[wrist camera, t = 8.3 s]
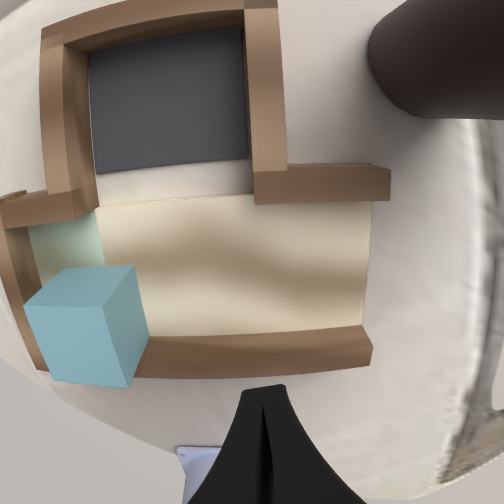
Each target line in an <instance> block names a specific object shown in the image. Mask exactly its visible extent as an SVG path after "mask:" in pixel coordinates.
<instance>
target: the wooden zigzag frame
mask: <svg viewBox="0 0 504 504" xmlns="http://www.w3.org/2000/svg"><path fill="white" fill-rule="evenodd" d="M229 28H241V29H244V31H245V48H246V65H247V83H248V101H249V119H250V138H251V156H252V175H253V193H251V194H234V195H218V196H204V197H191V198H179V199H167V200H157V201H146V202H136V203H127V204H117V205H109V206H100V207H99V202H98V195H97V188H96V181H95V172H94V164H93V154H92V143H91V131H90V116H89V94H88V54H90V53H92V52H95V51H99V50H102V49H106V48H110V47H114V46H118V45H123V44H127V43H131V42H136V41H141V40H146V39H151V38H157V37H162V36H168V35H175V34H182V33H189V32H197V31H206V30H216V29H229ZM39 93H40V122H41V137H42V148H43V158H44V167H45V175H46V183H47V190H43V191H38V192H33V193H28V194H27V193H26V190H23V191H19V192H14V193H10V194H7V195H5V196H2V197H0V277H1V280H2V283H3V286H4V289H5V292H6V295H7V298H8V301H9V304H10V307H11V310H12V312H13V315H14V318H15V320H16V323H17V326H18V328H19V331H20V333H21V335H22V338H23V340H24V343H25V345H26V347H27V349H28V352H29V354H30V356H31V358H32V361H33V363H34V365H35V367H36V369H37V370H42V371H48V372H50V371H49V369H48V367H47V364H46V362H45V360H44V358H43V355H42V353H41V351H40V349H39V346H38V344H37V341H36V339H35V336H34V334H33V331H32V329H31V326H30V324H29V321H28V318H27V316H26V313H25V310H24V307H23V305H24V304H25V303H26V302H27V301H28V300H29V299H30V298H32V297H33V296H34V295H35V294H36V293H37V292H38V291H39V290H40V289H41V288H42V287H44V286H45V285H46V284H47V283H48V282H49V281H50V280H51V279H53V278H54V277H55V276H56V275H57V274H58V273H59V272H61V271H62V270H63V269H64V268H74V267H96V266H117V265H134V266H135V271H136V277H137V281H138V286H139V291H140V296H141V300H142V305H143V309H144V314H145V318H146V322H147V326H148V330H149V334H150V337H149V340H148V342H147V344H146V347H145V349H144V352H143V354H142V356H141V359H140V361H139V364H138V366H137V369H136V371H135V374H134V376H133V377H141V378H171V379H218V378H248V377H267V376H281V375H294V374H305V373H315V372H324V371H333V370H341V369H349V368H356V367H363V366H370V361H371V356H372V350H373V345H372V343H371V341H370V339H369V338H368V336H367V334H366V332H365V330H364V328H363V327H362V325H361V324H362V316H363V308H364V300H365V291H366V281H367V271H368V259H369V246H370V231H371V211H372V201H390V182H391V170H389V169H385V168H382V167H379V166H375V165H371V164H344V163H334V164H287V148H286V126H285V105H284V87H283V71H282V56H281V42H280V28H279V16H278V4H277V0H126V1H122V2H118V3H115V4H111V5H107V6H104V7H101V8H97V9H94V10H91V11H88V12H85V13H82V14H79V15H76V16H73V17H70V18H67V19H65V20H62V21H59V22H57V23H54V24H52V25H49V26H47V27H44V28H42V32H41V46H40V73H39Z"/></svg>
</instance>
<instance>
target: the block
mask: <svg viewBox="0 0 504 504" xmlns="http://www.w3.org/2000/svg"><path fill="white" fill-rule="evenodd" d="M23 307H24V310H25V313H26V316H27V318H28V321H29V324H30V326H31V329H32V331H33V334H34V336H35V339H36V341H37V344H38V346H39V349H40V351H41V353H42V355H43V358H44V360H45V362H46V364H47V367H48V369H49V371H50V373H51V375H52V377H53V379H54V380H56V381H63V382H70V383H77V384H86V385H95V386H105V387H116V388H129V386H130V384H131V381H132V379H133V376H134V374H135V371H136V369H137V366H138V364H139V361H140V359H141V356H142V354H143V352H144V349H145V347H146V344H147V342H148V340H149V337H150V334H149V330H148V326H147V322H146V318H145V314H144V309H143V305H142V300H141V296H140V291H139V286H138V281H137V277H136V271H135V266H134V265H117V266H96V267H74V268H64V269H63V270H62V271H61V272H59V273H58V274H57V275H56V276H55V277H54V278H53V279H51V280H50V281H49V282H48V283H47V284H46V285H45V286H44V287H42V288H41V289H40V290H39V291H38V292H37V293H36V294H35V295H34V296H33V297H32V298H30V299H29V300H28V301H27V302H26V303H25V304H24V305H23Z"/></svg>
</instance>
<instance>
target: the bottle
mask: <svg viewBox="0 0 504 504" xmlns="http://www.w3.org/2000/svg"><path fill="white" fill-rule="evenodd" d="M369 62H370V65H371V68H372V72H373V75H374V78H375V79H376V81H377V83H378V84H379V86H380V88H381V89H382V91H383V93H384V94H385V95H386V96H387V97H388V98H389V99H390V100H391V101H392V102H393V103H394V104H395V105H396V106H398V107H400V108H401V109H403V110H405V111H407V112H408V113H410V114H412V115H414V116H419V117H423V118H427V119H437V118H454V119H490V120H504V0H407V1H406V2H404V3H403V4H401V5H400V6H399V7H397V8H396V9H394V10H393V11H392V12H390V13H389V14H388V15H386V16H385V17H384V18H383V19H382V20H381V21H380V22H379V23H378V24H377V25H376V26H375V27H374V30H373V32H372V35H371V38H370V41H369Z"/></svg>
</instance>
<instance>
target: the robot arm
mask: <svg viewBox="0 0 504 504" xmlns="http://www.w3.org/2000/svg"><path fill="white" fill-rule="evenodd" d="M176 452H177V455H178V457H179V460H180V462H181V465H182V467H183V469H184V472H185V474H186V480H185V487H184V496H183V503H182V504H366V503H365V502H364V501H363V500H362V499H361V498H360V497H359V496H358V495H357V494H356V493H355V492H354V491H353V490H351V489H350V488H349V487H348V486H347V485H346V484H345V482H344V481H343V480H342V479H341V478H340V477H339V476H338V475H337V474H336V473H335V471H334V470H333V469H332V468H331V467H330V465H329V464H328V463H327V462H326V460H325V459H324V458H323V457H322V455H321V454H320V453H319V451H318V450H317V448H316V447H315V445H314V444H313V443H312V441H311V440H310V438H309V436H308V435H307V433H306V432H305V430H304V428H303V426H302V425H301V423H300V421H299V419H298V418H297V416H296V414H295V412H294V409H293V407H292V405H291V403H290V400H289V398H288V394H287V391H286V386H285V385H283V384H278V385H272V386H266V387H260V388H253V389H246V390H244V391H243V392H242V393H241V398H240V401H239V405H238V408H237V411H236V414H235V417H234V420H233V422H232V425H231V427H230V430H229V432H228V434H227V437H226V439H225V441H224V444H223V446H222V448H214V447H177V449H176Z"/></svg>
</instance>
